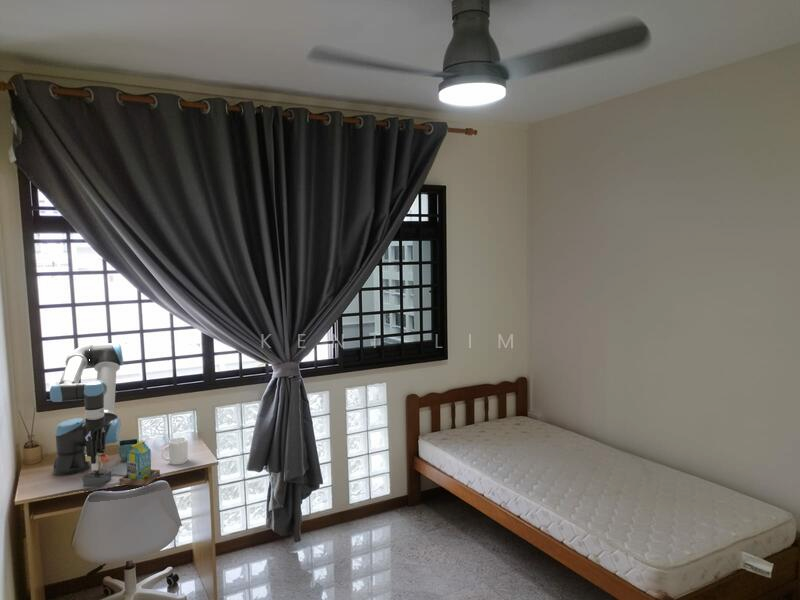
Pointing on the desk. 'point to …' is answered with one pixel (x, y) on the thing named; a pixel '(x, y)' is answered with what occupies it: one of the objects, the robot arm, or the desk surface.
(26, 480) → the desk surface
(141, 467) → the carton
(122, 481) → the frame
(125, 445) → the flower pot
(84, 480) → the block
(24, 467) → the desk surface
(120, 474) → the mat
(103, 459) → the key
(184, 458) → the mug
